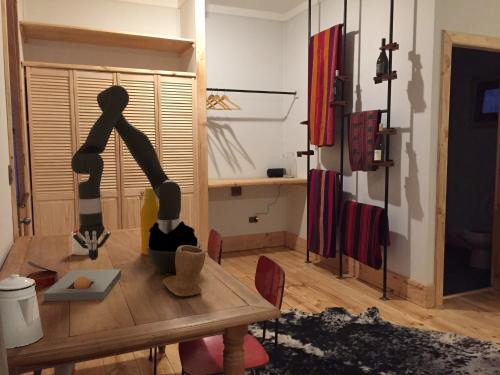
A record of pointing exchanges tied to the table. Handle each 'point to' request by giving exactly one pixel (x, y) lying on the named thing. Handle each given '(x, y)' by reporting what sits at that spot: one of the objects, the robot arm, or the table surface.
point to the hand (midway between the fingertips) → (93, 259)
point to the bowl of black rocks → (169, 245)
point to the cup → (78, 246)
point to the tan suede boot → (186, 271)
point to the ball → (82, 283)
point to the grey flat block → (97, 291)
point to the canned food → (43, 276)
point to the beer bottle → (148, 217)
